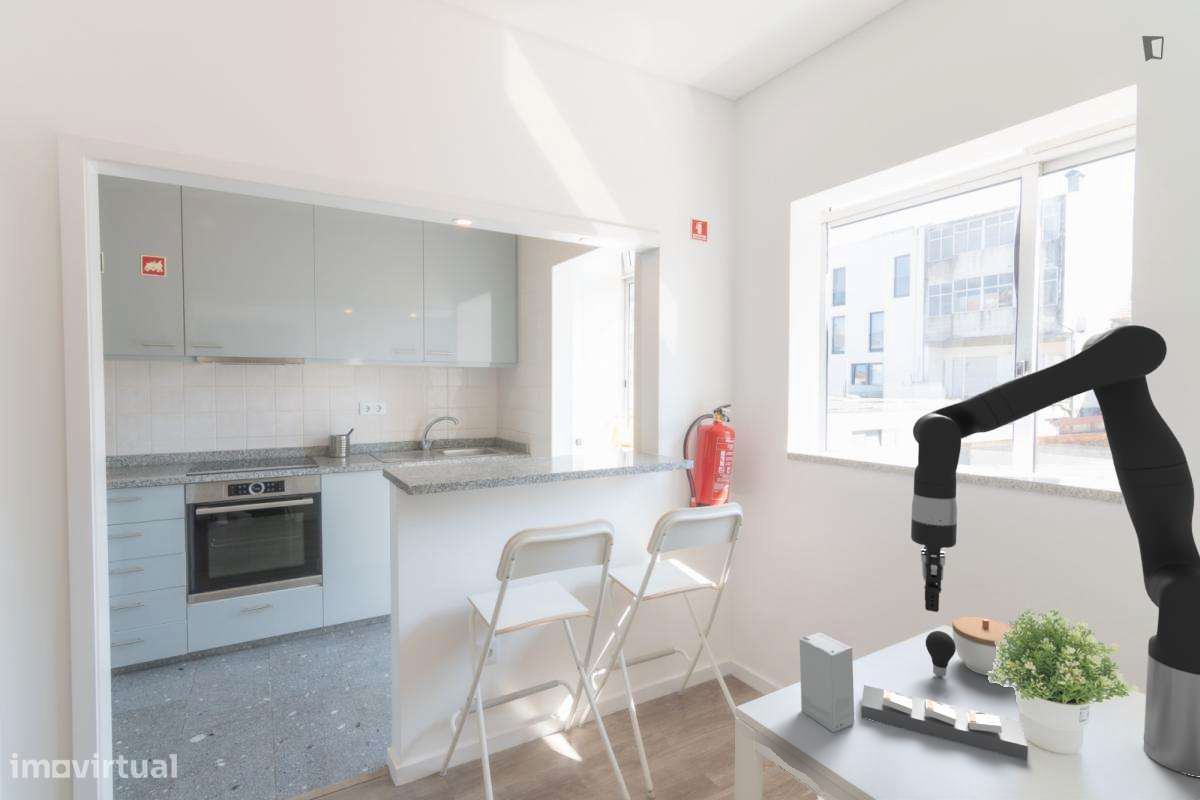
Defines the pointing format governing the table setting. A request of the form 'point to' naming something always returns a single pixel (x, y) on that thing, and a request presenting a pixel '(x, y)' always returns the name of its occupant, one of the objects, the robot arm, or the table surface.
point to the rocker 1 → (897, 702)
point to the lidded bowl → (977, 641)
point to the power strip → (946, 724)
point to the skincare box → (827, 681)
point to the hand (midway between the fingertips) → (931, 605)
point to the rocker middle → (940, 712)
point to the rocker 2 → (984, 722)
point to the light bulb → (940, 651)
